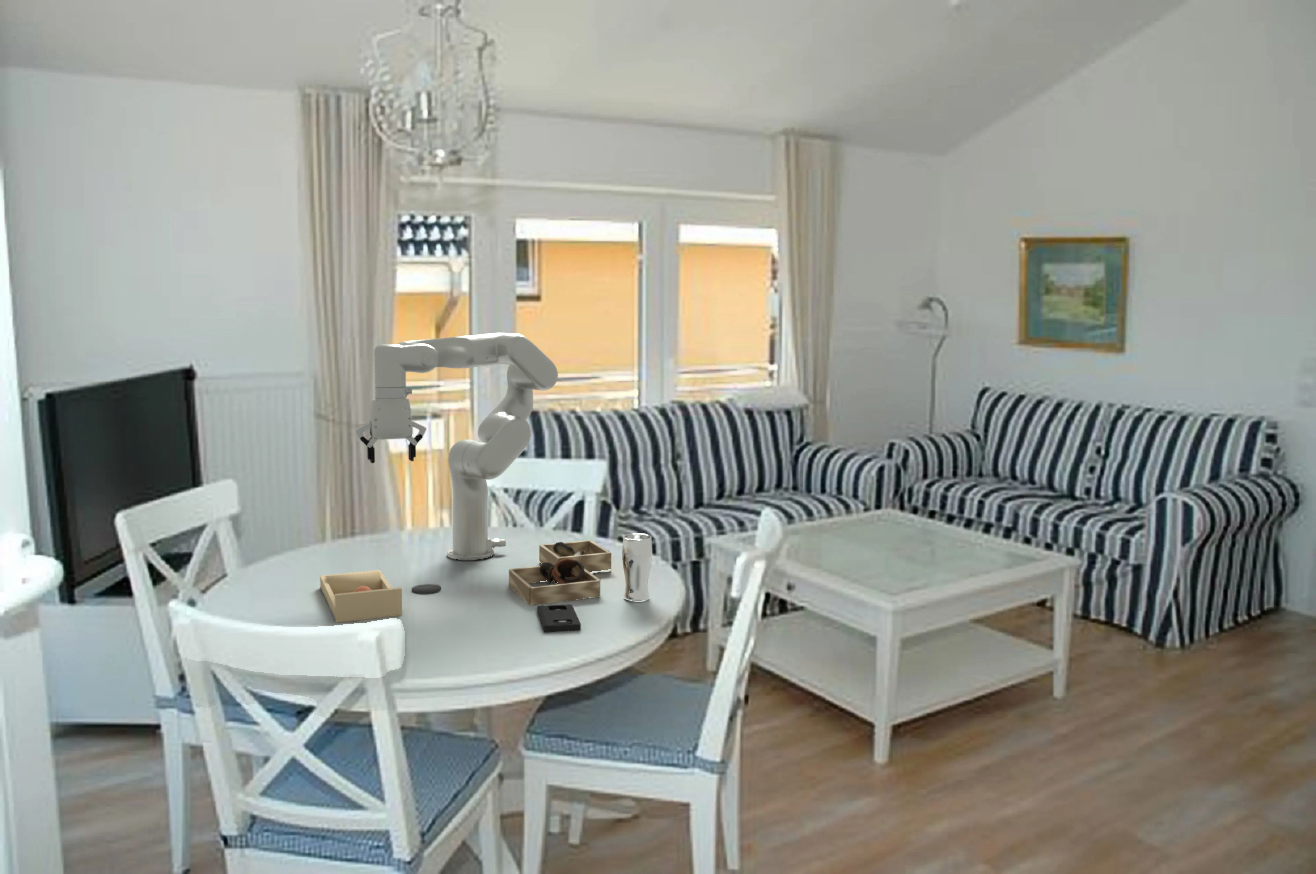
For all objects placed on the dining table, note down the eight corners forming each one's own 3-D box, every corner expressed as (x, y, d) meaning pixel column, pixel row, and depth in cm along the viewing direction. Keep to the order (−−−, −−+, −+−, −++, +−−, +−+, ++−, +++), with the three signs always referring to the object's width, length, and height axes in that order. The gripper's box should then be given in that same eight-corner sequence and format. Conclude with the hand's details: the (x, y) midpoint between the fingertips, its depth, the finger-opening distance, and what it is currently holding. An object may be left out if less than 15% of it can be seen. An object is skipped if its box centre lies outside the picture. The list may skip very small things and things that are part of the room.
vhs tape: (580, 633, 213) (581, 624, 212) (543, 635, 211) (543, 625, 211) (571, 612, 226) (571, 604, 226) (536, 614, 225) (536, 605, 224)
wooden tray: (590, 558, 272) (590, 540, 271) (611, 571, 258) (611, 552, 258) (539, 563, 265) (539, 544, 265) (557, 577, 252) (557, 558, 252)
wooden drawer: (380, 597, 246) (379, 558, 245) (402, 632, 221) (401, 588, 220) (320, 603, 240) (319, 563, 239) (336, 640, 215) (335, 595, 214)
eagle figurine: (585, 559, 266) (552, 552, 266) (588, 541, 261) (554, 534, 262) (579, 580, 260) (545, 573, 261) (582, 562, 256) (547, 555, 256)
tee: (437, 584, 244) (437, 582, 244) (444, 592, 238) (444, 590, 238) (408, 587, 241) (408, 586, 241) (414, 595, 235) (414, 593, 235)
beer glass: (629, 604, 231) (630, 541, 229) (616, 596, 237) (617, 534, 235) (656, 601, 234) (657, 538, 232) (643, 593, 240) (644, 532, 238)
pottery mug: (588, 584, 248) (592, 561, 244) (576, 610, 241) (580, 587, 236) (543, 569, 250) (546, 546, 245) (529, 595, 242) (532, 571, 237)
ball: (372, 606, 227) (370, 588, 228) (375, 601, 223) (373, 582, 225) (352, 609, 225) (350, 590, 226) (355, 603, 221) (353, 584, 223)
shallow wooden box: (575, 577, 252) (575, 562, 252) (601, 597, 237) (601, 580, 236) (507, 585, 245) (507, 569, 244) (530, 605, 229) (530, 588, 229)
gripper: (422, 391, 257) (423, 457, 259) (352, 393, 249) (354, 461, 252) (428, 394, 250) (429, 462, 252) (357, 396, 243) (358, 465, 245)
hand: (391, 461), depth 252 cm, fingers open, 9 cm apart
